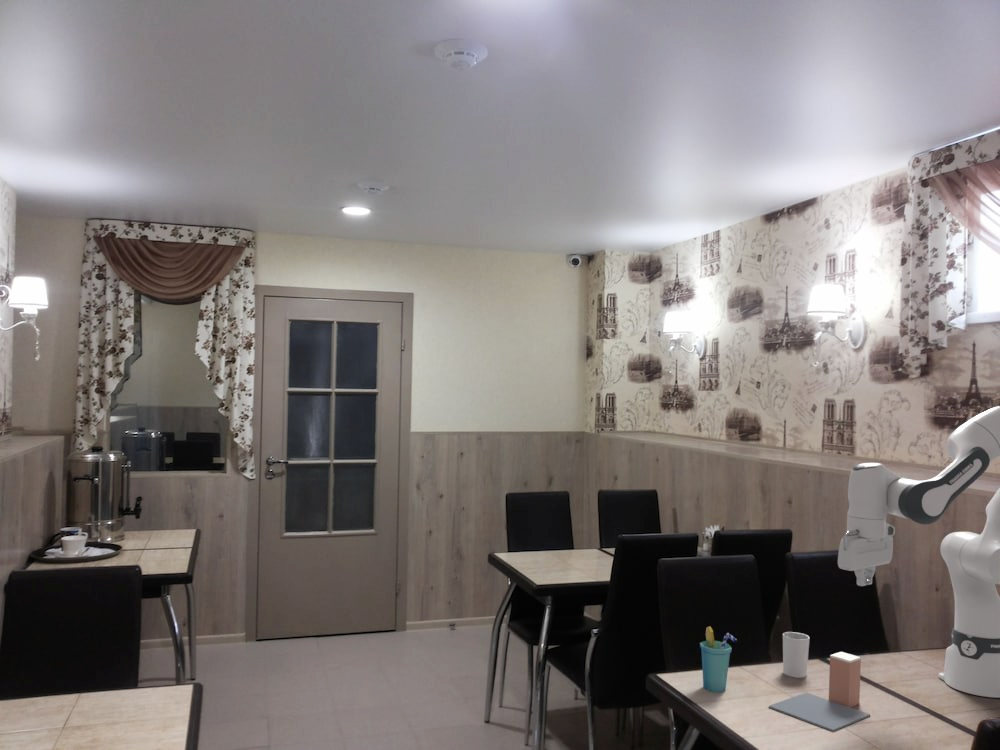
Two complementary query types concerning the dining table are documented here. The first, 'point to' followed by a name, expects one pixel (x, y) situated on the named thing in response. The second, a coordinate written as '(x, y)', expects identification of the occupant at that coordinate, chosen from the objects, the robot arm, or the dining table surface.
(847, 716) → the mat
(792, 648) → the drinking glass
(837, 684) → the block
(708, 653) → the cup
